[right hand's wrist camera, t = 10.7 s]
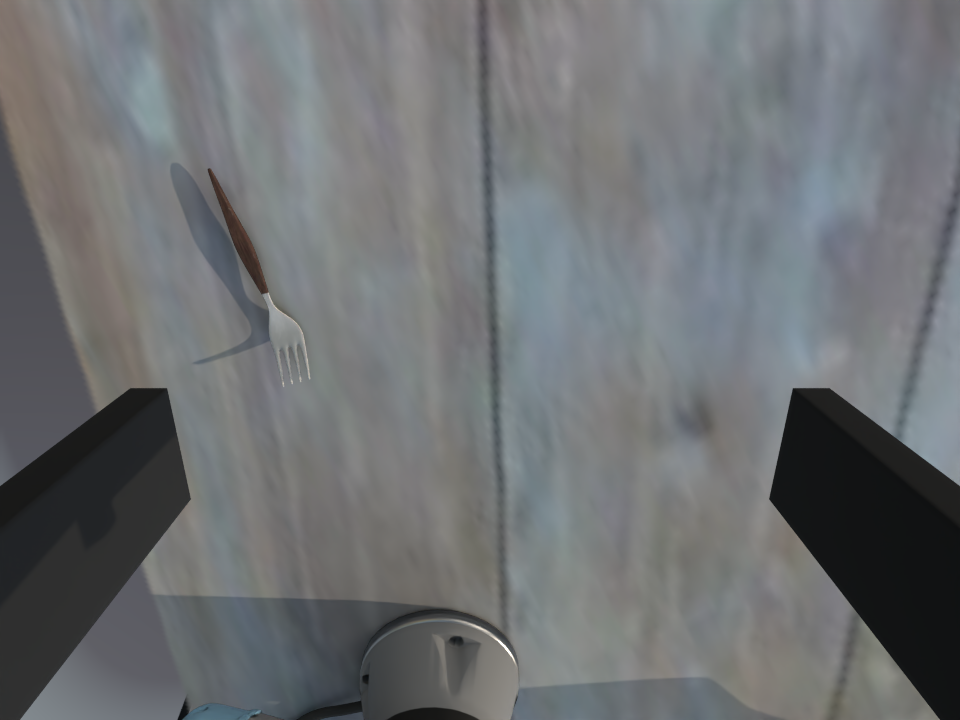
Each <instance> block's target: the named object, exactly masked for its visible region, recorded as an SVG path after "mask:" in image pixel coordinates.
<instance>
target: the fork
mask: <svg viewBox="0 0 960 720" xmlns="http://www.w3.org/2000/svg"><path fill="white" fill-rule="evenodd" d="M208 172H209V175H210V178H211V181H212V184H213V187H214V190H215V193H216V195H217V198H218V201H219V203H220V206H221V209H222V212H223V214H224V217H225V220H226V223H227V226H228V229H229V232H230V235H231V237H232V240H233V243H234V245H235V248H236V250H237V252H238V254H239V256H240V258H241V260H242V261H243V263H244V265H245V267H246V268H247V270H248V272H249V274H250V275H251V277H252V279H253V280H254V282H255V284H256V285H257V287H258V289H259V290H260V292H261V294H262V296H263V297H264V299H265V301H266V303H267V306H268V309H269V337H270V341H271V344H272V347H273V350H274V353H275V357H276V360H277V364H278V368H279V373H280V377H281V381H282V386H283V387H284V381H283V373H282V365H281V359H280V350H282V351H283V353H284V356H285V360H286V364H287V368H288V372H289V376H290V380H291V384H293V382H292V373H291V366H290V359H289V352H288V349H289V347H290V348H291V349H292V351H293V355H294V359H295V363H296V367H297V371H298V375H299V379H300V382H301V374H300V366H299V359H298V353H297V345H300V347H301V350H302V354H303V358H304V362H305V365H306V369H307V374H308V379H310V374H309V366H308V359H307V353H306V347H305V341H304V336H303V333H302V330H301V328H300V327H299V325H298V324H297V323H296V322H295V321H294V320H293V319H291V318H290V317H289V316H287V315H286V314H284V313H283V312H281V311H280V310H278V309H277V308H276V307H275V306H274V304H273V302H272V300H271V298H270V295H269V292H268V289H267V286H266V283H265V279H264V276H263V273H262V270H261V267H260V264H259V261H258V258H257V255H256V252H255V250H254V247H253V245H252V243H251V241H250V239H249V237H248V235H247V233H246V232H245V230H244V228H243V226H242V225H241V223H240V221H239V219H238V218H237V216H236V214H235V212H234V211H233V209H232V207H231V205H230V203H229V201H228V199H227V197H226V196H225V194H224V192H223V190H222V188H221V186H220V184H219V182H218V181H217V179H216V177H215V175H214V173H213V172H212V170H211V169H208Z"/></svg>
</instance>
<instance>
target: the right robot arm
mask: <svg viewBox="0 0 960 720" xmlns="http://www.w3.org/2000/svg"><path fill="white" fill-rule="evenodd" d="M190 500H191V498H190V493H189V489H188V484H187V479H186V475H185V470H184V465H183V461H182V456H181V451H180V447H179V442H178V437H177V433H176V428H175V423H174V419H173V414H172V409H171V405H170V400H169V395H168V391H167V388H130V389H129V390H128V391H126V392H125V393H124V394H122V395H121V396H120V397H118V398H117V399H116V400H114V401H113V402H112V403H110V404H109V405H108V406H106V407H105V408H104V409H102V410H101V411H100V412H98V413H97V414H96V415H94V416H93V417H92V418H90V419H89V420H88V421H86V422H85V423H84V424H82V425H81V426H80V427H78V428H77V429H76V430H74V431H73V432H72V433H70V434H69V435H68V436H66V437H65V438H64V439H62V440H61V441H60V442H58V443H57V444H56V445H54V446H53V447H52V448H50V449H49V450H48V451H46V452H45V453H44V454H42V455H41V456H40V457H38V458H37V459H36V460H35V461H33V462H32V463H31V464H29V465H28V466H26V467H25V468H24V469H23V470H21V471H20V472H18V473H17V474H16V475H15V476H13V477H12V478H10V479H9V480H8V481H7V482H5V483H4V484H3V485H1V486H0V720H20V719H21V718H22V716H23V715H24V714H25V712H26V711H27V710H28V709H29V707H30V706H31V705H32V703H33V702H34V701H35V700H36V698H37V697H38V696H39V694H40V693H41V692H42V691H43V689H44V688H45V687H46V685H47V684H48V683H49V681H50V680H51V679H52V678H53V676H54V675H55V674H56V672H57V671H58V670H59V669H60V667H61V666H62V665H63V663H64V662H65V661H66V660H67V658H68V657H69V656H70V654H71V653H72V652H73V650H74V649H75V648H76V647H77V645H78V644H79V643H80V641H81V640H82V639H83V638H84V636H85V635H86V634H87V632H88V631H89V630H90V629H91V627H92V626H93V625H94V623H95V622H96V621H97V619H98V618H99V617H100V616H101V614H102V613H103V612H104V610H105V609H106V608H107V607H108V605H109V604H110V603H111V601H112V600H113V599H114V598H115V596H116V595H117V594H118V592H119V591H120V590H121V589H122V587H123V586H124V585H125V583H126V582H127V581H128V580H129V578H130V577H131V576H132V574H133V573H134V572H135V570H136V569H137V568H138V567H139V565H140V564H141V563H142V561H143V560H144V559H145V558H146V556H147V555H148V554H149V552H150V551H151V550H152V549H153V547H154V546H155V545H156V543H157V542H158V541H159V540H160V538H161V537H162V536H163V534H164V533H165V532H166V530H167V529H168V528H169V527H170V525H171V524H172V523H173V521H174V520H175V519H176V518H177V516H178V515H179V514H180V512H181V511H182V510H183V509H184V507H185V506H186V505H187V503H188V502H189V501H190ZM769 500H770V501H771V502H772V503H773V505H774V506H775V507H776V509H777V510H778V511H779V512H780V514H781V515H782V516H783V518H784V519H785V520H786V521H787V523H788V524H789V525H790V527H791V528H792V529H793V530H794V532H795V533H796V534H797V536H798V537H799V538H800V540H801V541H802V542H803V543H804V545H805V546H806V547H807V549H808V550H809V551H810V552H811V554H812V555H813V556H814V558H815V559H816V560H817V561H818V563H819V564H820V565H821V567H822V568H823V569H824V570H825V572H826V573H827V574H828V576H829V577H830V578H831V580H832V581H833V582H834V583H835V585H836V586H837V587H838V589H839V590H840V591H841V592H842V594H843V595H844V596H845V598H846V599H847V600H848V601H849V603H850V604H851V605H852V607H853V608H854V609H855V610H856V612H857V613H858V614H859V616H860V617H861V618H862V620H863V621H864V622H865V623H866V625H867V626H868V627H869V629H870V630H871V631H872V632H873V634H874V635H875V636H876V638H877V639H878V640H879V641H880V643H881V644H882V645H883V647H884V648H885V649H886V650H887V652H888V653H889V654H890V656H891V657H892V658H893V660H894V661H895V662H896V663H897V665H898V666H899V667H900V669H901V670H902V671H903V672H904V674H905V675H906V676H907V678H908V679H909V680H910V681H911V683H912V684H913V685H914V687H915V688H916V689H917V691H918V692H919V693H920V694H921V696H922V697H923V698H924V700H925V701H926V702H927V703H928V705H929V706H930V707H931V709H932V710H933V711H934V712H935V714H936V715H937V716H938V718H939V719H940V720H960V486H959V485H958V484H956V483H955V482H954V481H952V480H951V479H950V478H948V477H947V476H946V475H944V474H943V473H942V472H940V471H939V470H938V469H936V468H935V467H934V466H932V465H931V464H930V463H928V462H927V461H926V460H924V459H923V458H922V457H920V456H919V455H918V454H916V453H915V452H914V451H912V450H911V449H910V448H908V447H907V446H906V445H904V444H903V443H902V442H900V441H899V440H898V439H896V438H895V437H894V436H892V435H891V434H890V433H888V432H887V431H886V430H884V429H883V428H882V427H880V426H879V425H878V424H876V423H875V422H874V421H872V420H871V419H870V418H868V417H867V416H866V415H864V414H863V413H862V412H860V411H859V410H858V409H856V408H855V407H854V406H852V405H851V404H850V403H848V402H847V401H846V400H844V399H843V398H842V397H840V396H839V395H838V394H836V393H835V392H834V391H832V390H831V389H830V388H793V391H792V395H791V400H790V405H789V409H788V414H787V419H786V423H785V428H784V433H783V437H782V442H781V447H780V451H779V456H778V461H777V465H776V470H775V475H774V479H773V484H772V489H771V493H770V498H769ZM518 689H519V669H518V660H517V656H516V653H515V651H514V649H513V647H512V645H511V644H510V642H509V641H508V640H507V638H506V637H505V636H504V635H503V634H502V633H501V632H500V631H499V630H497V629H496V628H495V627H494V626H492V625H490V624H489V623H487V622H485V621H483V620H482V619H479V618H477V617H474V616H471V615H468V614H465V613H461V612H455V611H447V610H430V611H421V612H416V613H412V614H409V615H406V616H403V617H401V618H398V619H396V620H394V621H392V622H390V623H389V624H387V625H386V626H384V627H383V628H382V629H381V630H380V631H378V632H377V633H376V634H375V636H374V637H373V638H372V639H371V641H370V642H369V644H368V646H367V648H366V650H365V653H364V656H363V661H362V665H361V670H360V695H361V701H358V702H353V703H348V704H343V705H337V706H330V707H325V708H320V709H317V710H314V711H312V712H309V713H307V714H305V715H303V716H302V717H300V718H298V719H297V720H320V719H323V718H328V717H334V716H342V715H347V714H352V713H357V712H362V711H363V716H364V720H511V716H512V712H513V708H514V706H515V703H516V701H517V697H518ZM519 698H520V697H519ZM189 711H190V709H189V705H188V702H187V698H185V701H184V703H183V706H182V709H181V711H180V714H179V717H178V719H177V720H283V719H279V718H276V717H273V716H269V715H266V714H263V713H262V711H261V710H258V709H254V710H250V711H248V710H243V709H239V708H235V707H230V706H226V705H221V704H216V703H210V704H205V705H202V706H200V707H198V708H196V709H194V710H193V711H191V712H190V713H189Z"/></svg>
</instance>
